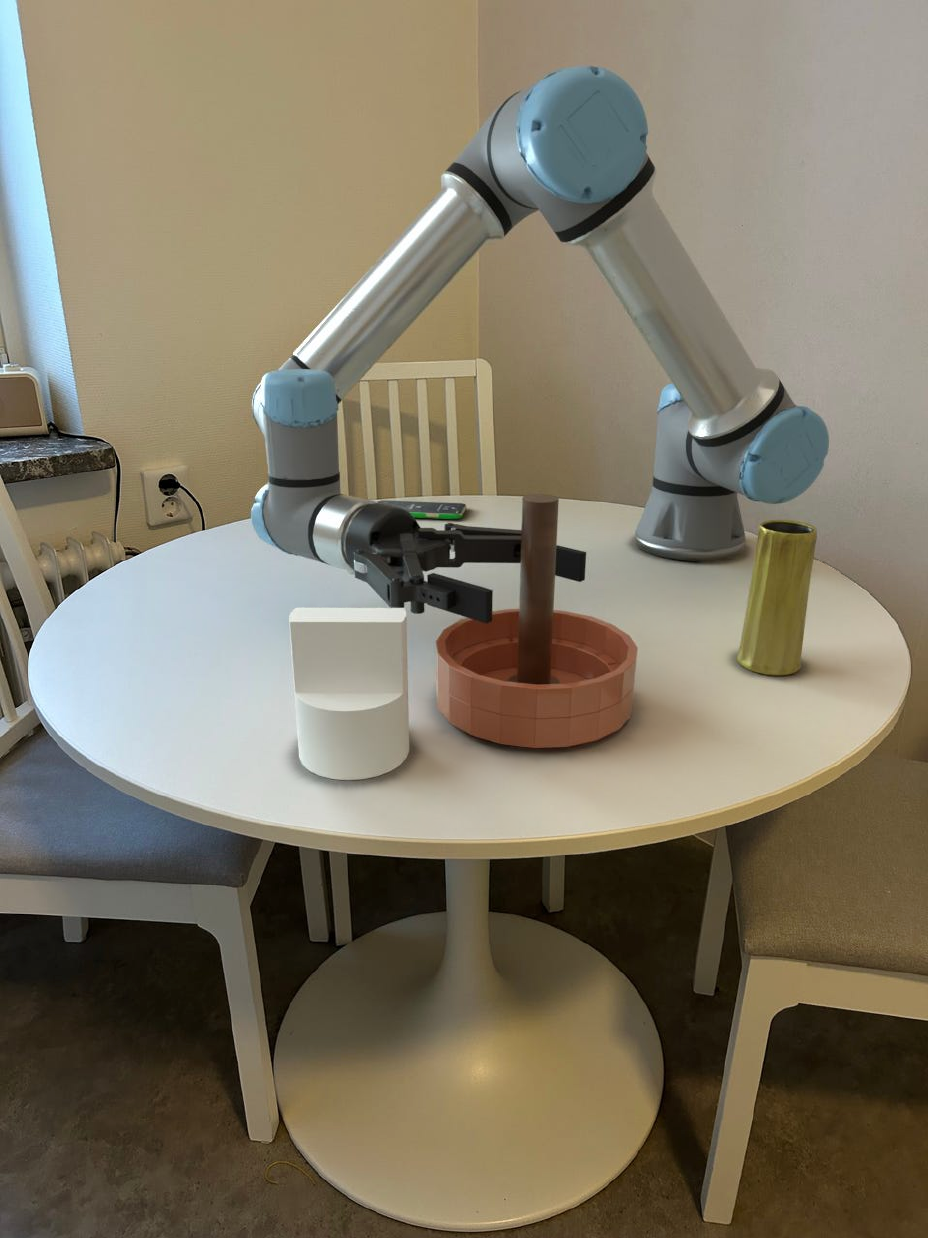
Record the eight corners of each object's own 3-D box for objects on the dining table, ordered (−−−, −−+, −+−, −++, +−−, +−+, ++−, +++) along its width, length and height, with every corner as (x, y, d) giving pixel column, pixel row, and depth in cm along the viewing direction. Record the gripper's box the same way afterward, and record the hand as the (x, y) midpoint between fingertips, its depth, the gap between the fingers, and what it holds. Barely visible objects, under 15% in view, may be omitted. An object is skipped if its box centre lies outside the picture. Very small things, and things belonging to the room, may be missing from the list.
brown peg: (554, 685, 82) (563, 490, 75) (564, 709, 77) (574, 504, 70) (503, 687, 81) (508, 491, 74) (510, 711, 77) (515, 505, 70)
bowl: (605, 661, 88) (609, 606, 86) (655, 749, 72) (662, 684, 70) (432, 666, 87) (431, 610, 85) (443, 758, 71) (442, 692, 68)
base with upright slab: (289, 780, 68) (278, 637, 63) (308, 724, 76) (299, 594, 72) (406, 780, 68) (402, 637, 63) (412, 724, 76) (409, 594, 72)
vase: (800, 680, 84) (823, 538, 79) (734, 671, 86) (752, 531, 81) (800, 656, 90) (822, 521, 84) (738, 647, 92) (756, 515, 86)
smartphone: (378, 499, 146) (467, 502, 144) (378, 505, 146) (467, 508, 144) (367, 510, 139) (461, 514, 137) (367, 516, 139) (461, 520, 137)
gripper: (451, 547, 98) (613, 589, 86) (272, 606, 81) (442, 671, 68) (451, 481, 96) (618, 515, 83) (266, 528, 78) (442, 580, 65)
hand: (539, 585), depth 75 cm, fingers open, 13 cm apart
